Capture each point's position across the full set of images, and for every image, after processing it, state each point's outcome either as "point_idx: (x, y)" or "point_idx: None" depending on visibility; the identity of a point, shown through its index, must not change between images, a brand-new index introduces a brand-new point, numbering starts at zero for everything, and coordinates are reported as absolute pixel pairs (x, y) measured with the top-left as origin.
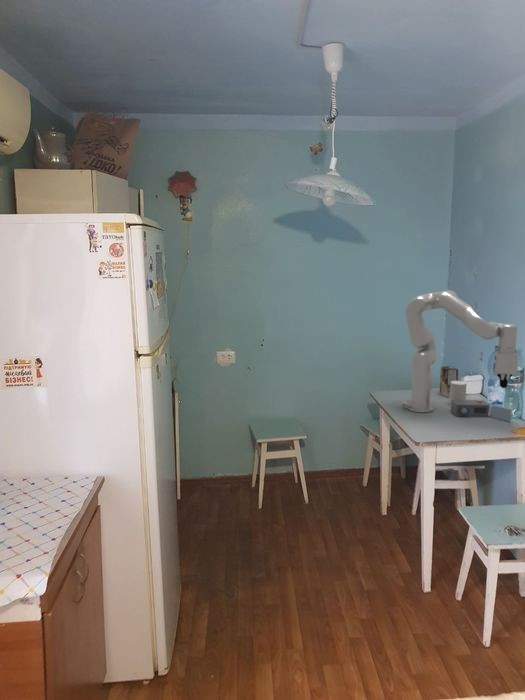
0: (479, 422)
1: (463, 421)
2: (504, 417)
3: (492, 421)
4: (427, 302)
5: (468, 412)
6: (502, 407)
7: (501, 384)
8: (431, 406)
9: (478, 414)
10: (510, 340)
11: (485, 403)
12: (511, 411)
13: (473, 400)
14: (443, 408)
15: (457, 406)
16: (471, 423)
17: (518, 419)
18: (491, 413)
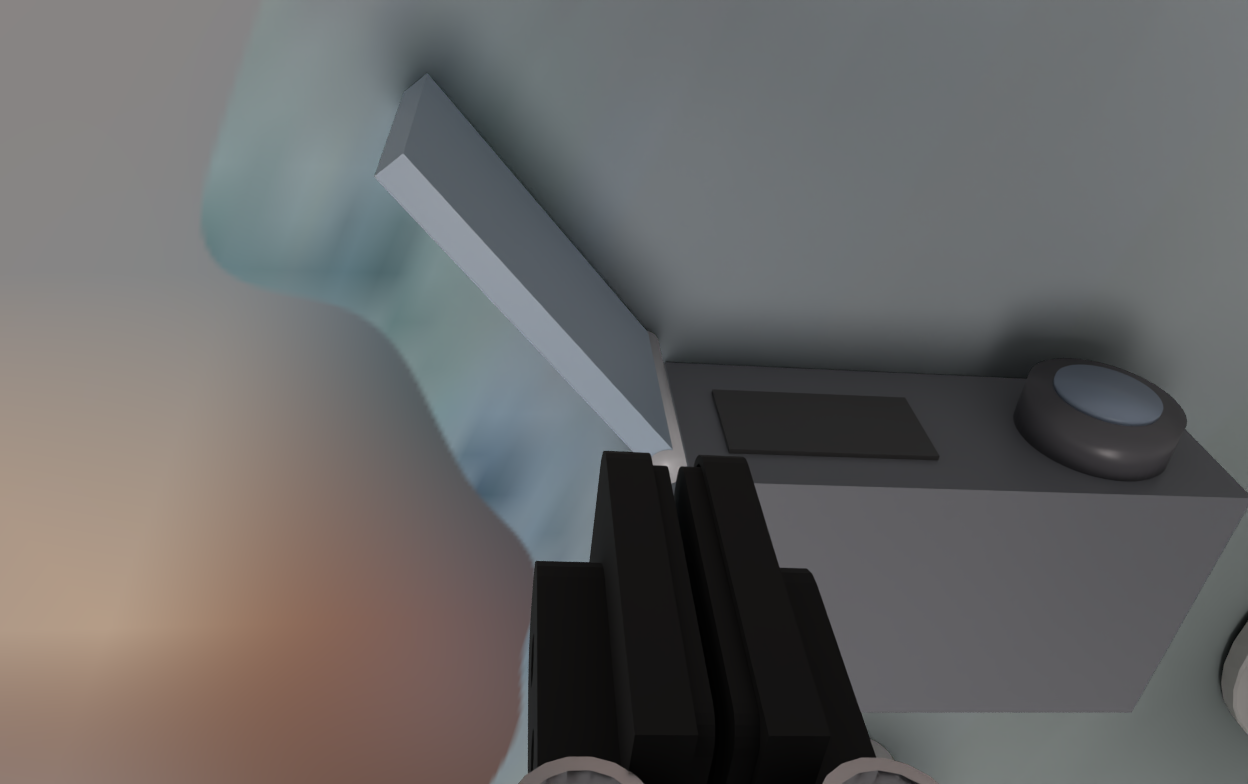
0: (978, 81)
1: (1202, 147)
2: (498, 173)
3: (724, 124)
4: None
5: (990, 412)
6: (526, 307)
7: (800, 596)
8: (1243, 675)
9: (827, 386)
10: None
11: None
12: (381, 157)
13: None
14: None
15: (1219, 477)
16: (1148, 33)
17: (212, 211)
18: (649, 356)
